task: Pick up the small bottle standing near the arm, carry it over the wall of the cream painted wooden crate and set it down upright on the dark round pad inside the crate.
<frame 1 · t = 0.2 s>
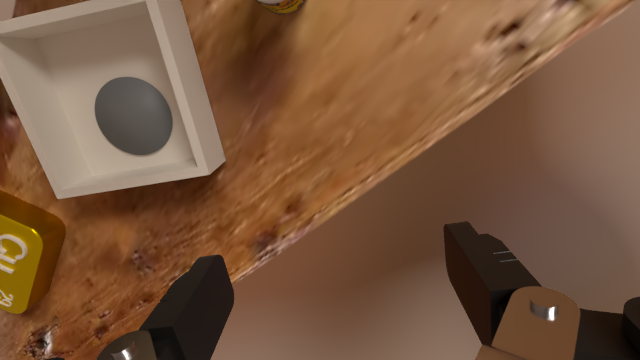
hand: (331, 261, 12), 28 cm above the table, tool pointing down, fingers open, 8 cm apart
crate: (131, 99, 39), on the table
element tile: (8, 237, 47), on the table
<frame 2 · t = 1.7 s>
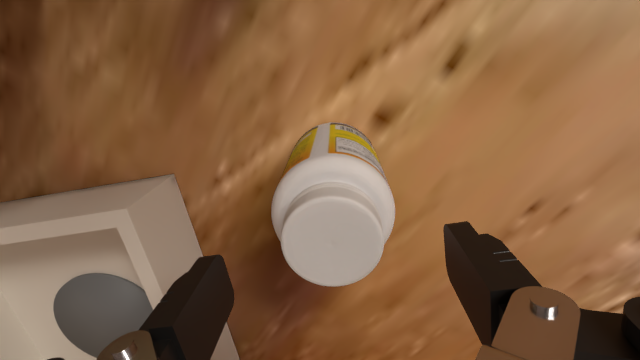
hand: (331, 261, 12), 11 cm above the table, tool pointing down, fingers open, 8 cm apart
crate: (106, 294, 27), on the table
supplement bottle: (334, 161, 22), on the table
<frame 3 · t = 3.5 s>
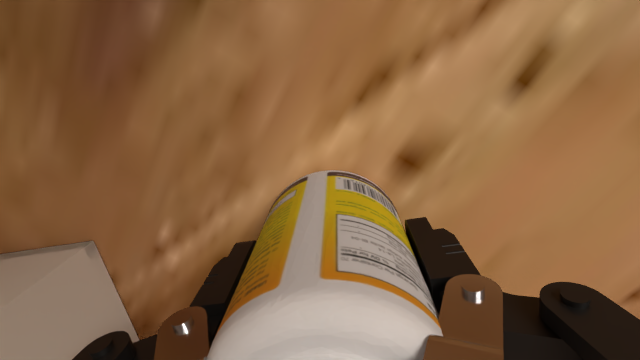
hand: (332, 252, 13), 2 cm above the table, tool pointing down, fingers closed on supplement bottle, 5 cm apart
supplement bottle: (333, 224, 15), on the table, touching gripper
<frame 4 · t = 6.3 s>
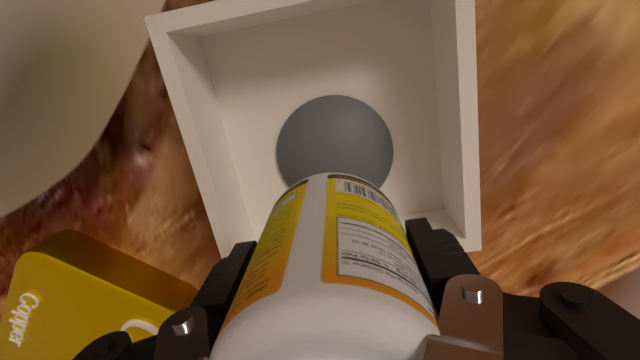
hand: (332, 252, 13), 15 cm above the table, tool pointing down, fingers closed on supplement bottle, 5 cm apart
crate: (330, 127, 26), on the table
supplement bottle: (334, 226, 15), point 13 cm above the table, touching gripper
element tile: (116, 309, 34), on the table
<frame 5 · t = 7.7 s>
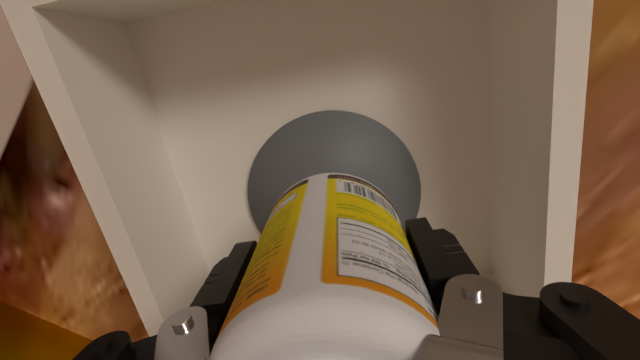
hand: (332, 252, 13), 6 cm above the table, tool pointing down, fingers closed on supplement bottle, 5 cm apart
crate: (326, 157, 18), on the table
supplement bottle: (334, 226, 15), point 4 cm above the table, touching gripper
when the fingers open (3 cm above the table, at t = 9.2 s): supplement bottle stays where it is, resting on crate.
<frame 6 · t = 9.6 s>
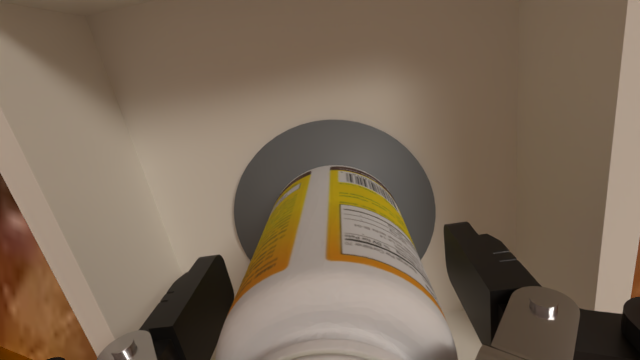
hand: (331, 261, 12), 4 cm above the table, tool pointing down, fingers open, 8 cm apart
crate: (326, 172, 15), on the table
supplement bottle: (336, 218, 15), point 1 cm above the table, touching crate
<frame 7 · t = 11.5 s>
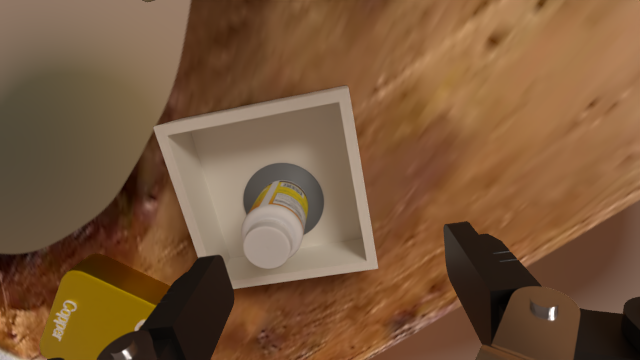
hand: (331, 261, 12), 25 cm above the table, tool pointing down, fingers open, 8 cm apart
crate: (280, 183, 37), on the table
supplement bottle: (284, 201, 37), point 1 cm above the table, touching crate
element tile: (130, 313, 45), on the table
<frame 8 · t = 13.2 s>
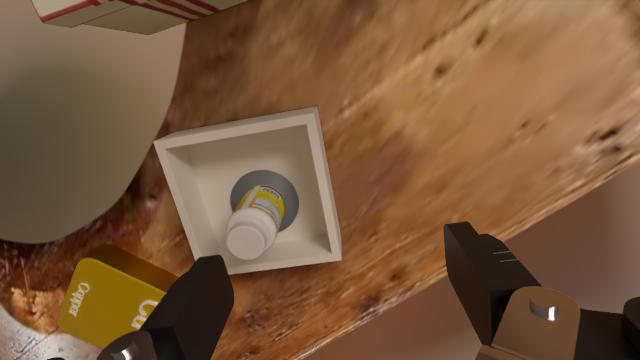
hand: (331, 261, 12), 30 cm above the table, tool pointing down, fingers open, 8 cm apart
crate: (262, 186, 44), on the table
supplement bottle: (265, 202, 44), point 1 cm above the table, touching crate
element tile: (134, 295, 52), on the table
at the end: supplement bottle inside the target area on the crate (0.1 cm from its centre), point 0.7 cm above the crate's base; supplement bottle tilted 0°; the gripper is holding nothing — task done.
